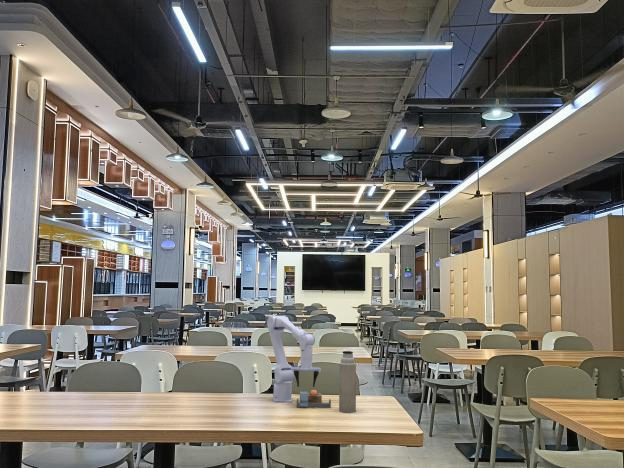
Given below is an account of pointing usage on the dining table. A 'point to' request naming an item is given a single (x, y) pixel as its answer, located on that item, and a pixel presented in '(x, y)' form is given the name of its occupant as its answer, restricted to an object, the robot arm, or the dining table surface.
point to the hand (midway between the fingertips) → (305, 386)
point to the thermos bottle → (347, 383)
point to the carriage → (303, 398)
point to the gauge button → (313, 392)
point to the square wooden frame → (315, 397)
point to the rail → (316, 404)
